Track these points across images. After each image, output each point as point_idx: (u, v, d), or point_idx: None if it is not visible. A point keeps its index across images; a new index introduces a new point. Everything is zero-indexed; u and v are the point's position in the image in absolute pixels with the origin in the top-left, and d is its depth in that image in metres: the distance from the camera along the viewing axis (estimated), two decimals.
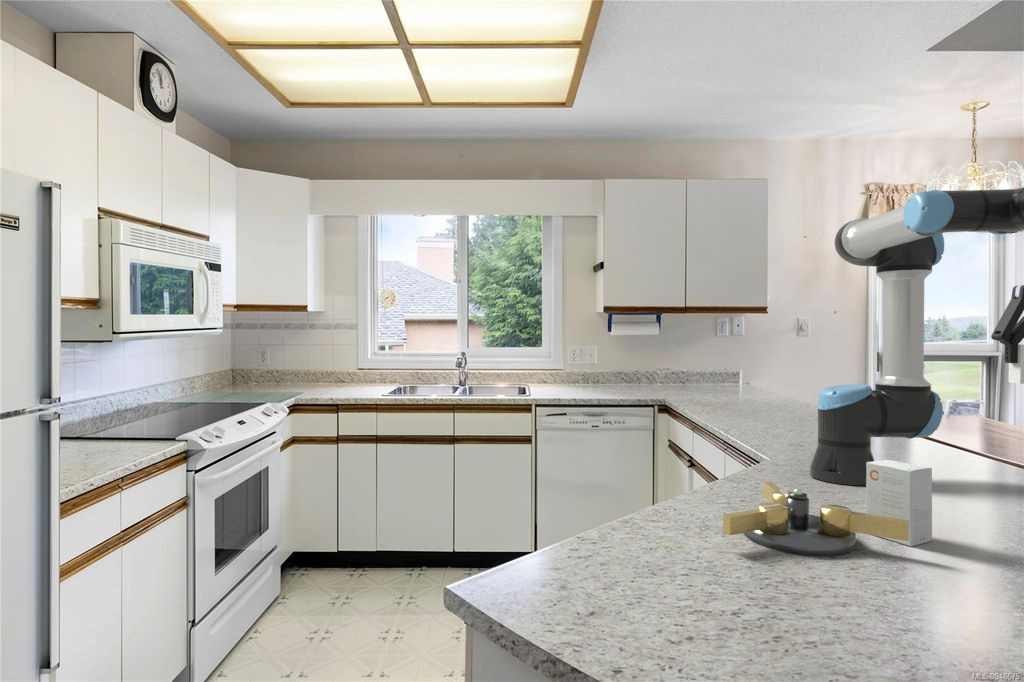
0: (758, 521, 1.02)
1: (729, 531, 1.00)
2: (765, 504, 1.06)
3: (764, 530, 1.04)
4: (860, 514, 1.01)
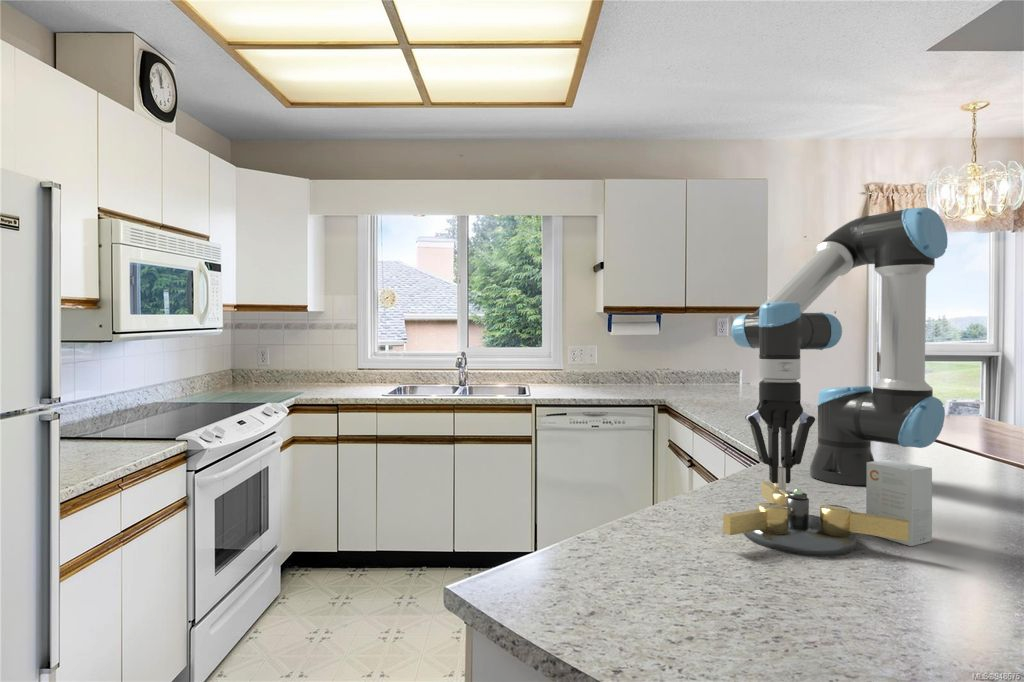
0: (758, 521, 1.02)
1: (729, 531, 1.00)
2: (765, 504, 1.06)
3: (764, 530, 1.04)
4: (860, 514, 1.01)
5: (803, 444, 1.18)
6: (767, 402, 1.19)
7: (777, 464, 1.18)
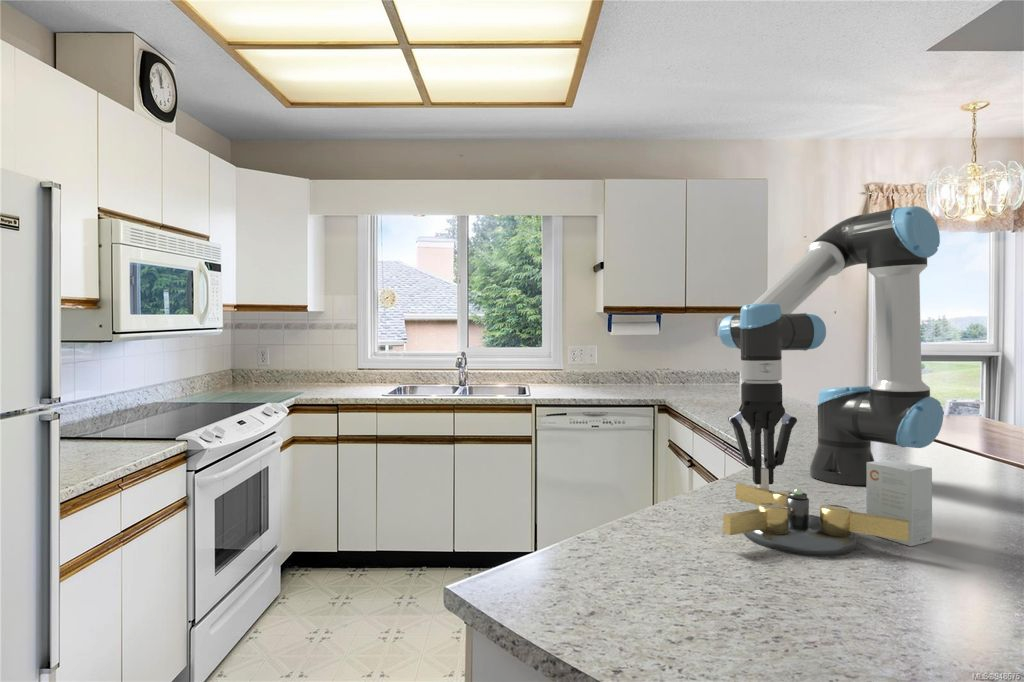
0: (758, 521, 1.02)
1: (729, 531, 1.00)
2: (765, 504, 1.06)
3: (764, 530, 1.04)
4: (860, 514, 1.01)
5: (785, 445, 1.18)
6: (749, 403, 1.19)
7: (760, 465, 1.18)
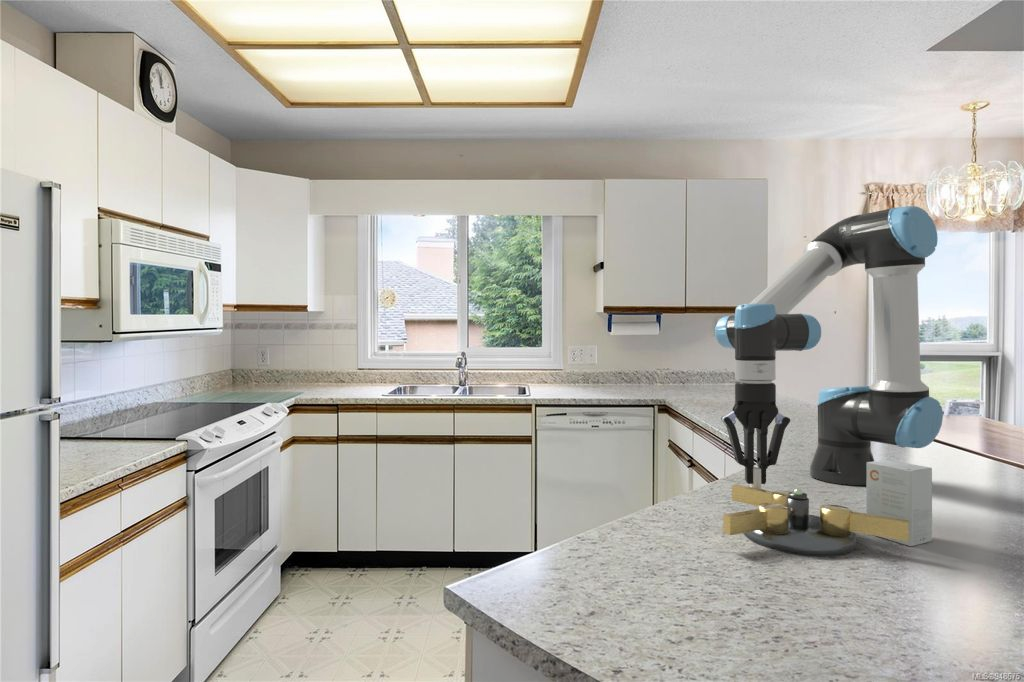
0: (758, 521, 1.02)
1: (729, 531, 1.00)
2: (765, 504, 1.06)
3: (764, 530, 1.04)
4: (860, 514, 1.01)
5: (778, 445, 1.18)
6: (742, 403, 1.19)
7: (752, 465, 1.19)
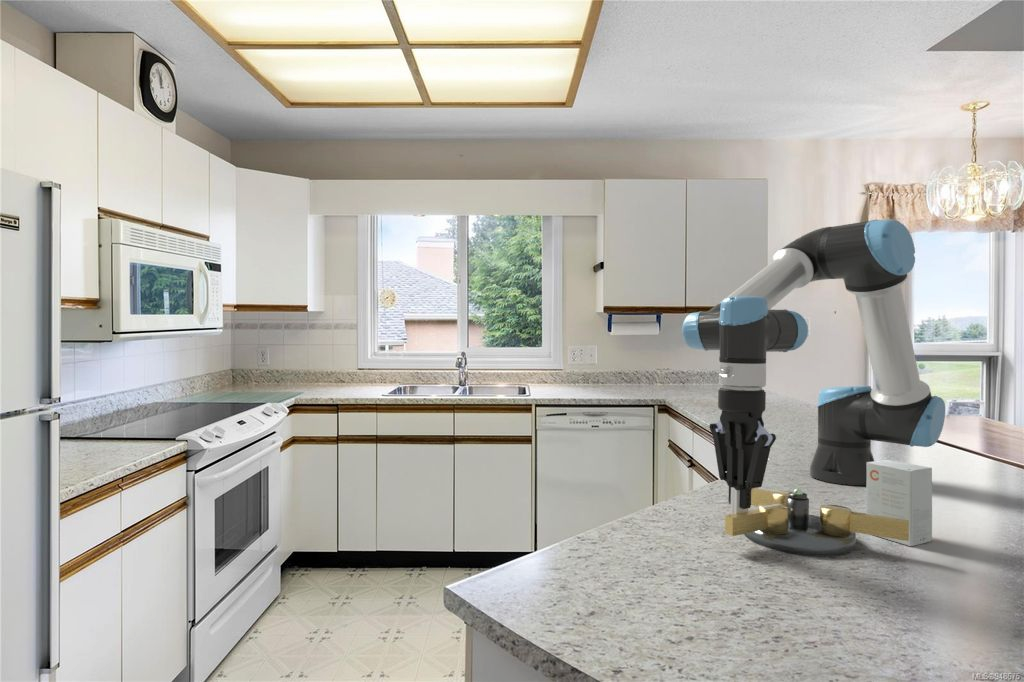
0: (759, 522, 1.02)
1: (732, 532, 0.99)
2: (765, 504, 1.06)
3: (765, 530, 1.03)
4: (860, 514, 1.01)
5: (753, 466, 0.99)
6: (725, 410, 1.05)
7: (730, 483, 1.03)
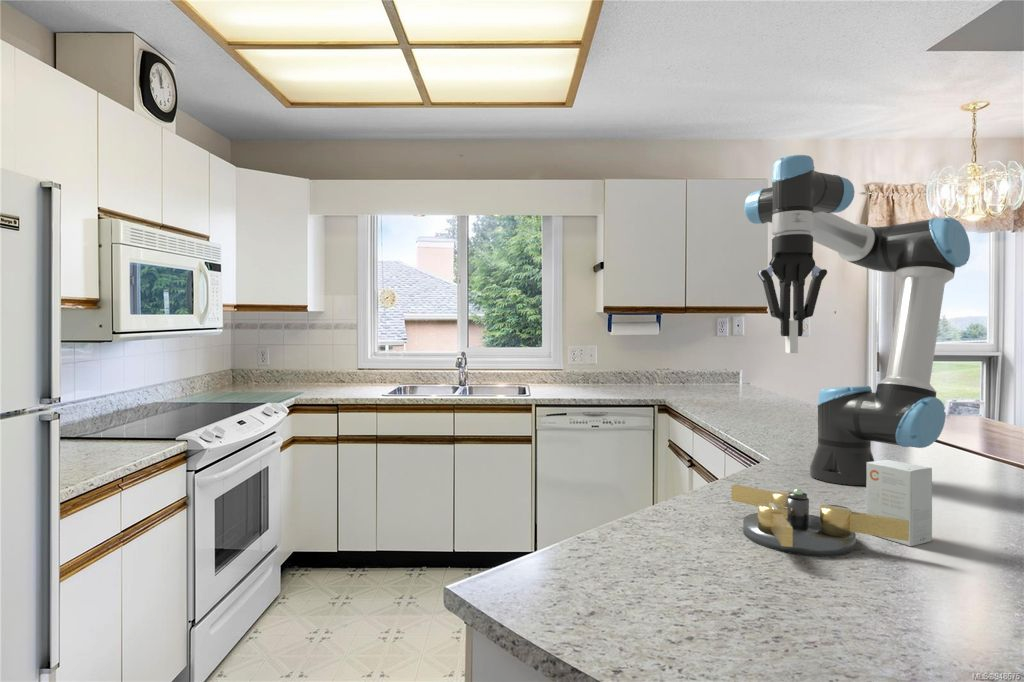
0: None
1: (791, 543, 0.94)
2: (763, 506, 1.05)
3: None
4: (860, 514, 1.01)
5: (815, 297, 1.20)
6: (780, 256, 1.20)
7: (788, 317, 1.20)
